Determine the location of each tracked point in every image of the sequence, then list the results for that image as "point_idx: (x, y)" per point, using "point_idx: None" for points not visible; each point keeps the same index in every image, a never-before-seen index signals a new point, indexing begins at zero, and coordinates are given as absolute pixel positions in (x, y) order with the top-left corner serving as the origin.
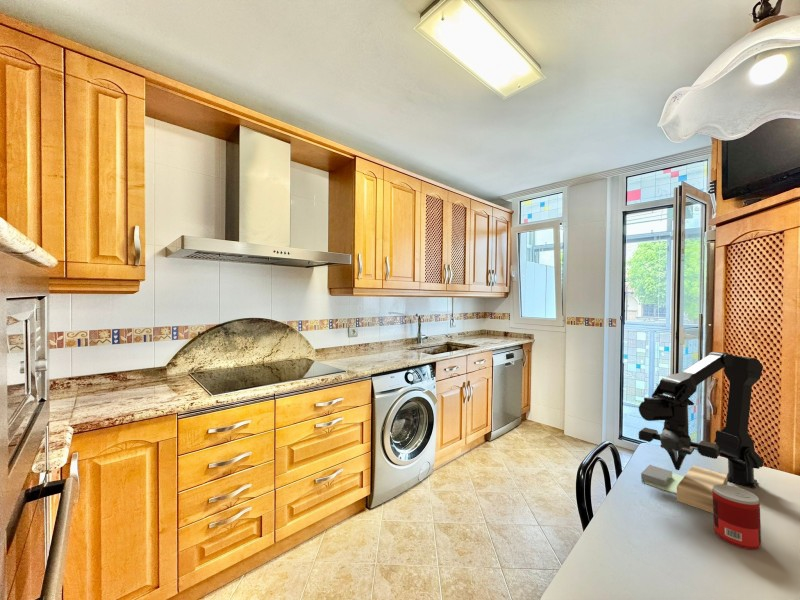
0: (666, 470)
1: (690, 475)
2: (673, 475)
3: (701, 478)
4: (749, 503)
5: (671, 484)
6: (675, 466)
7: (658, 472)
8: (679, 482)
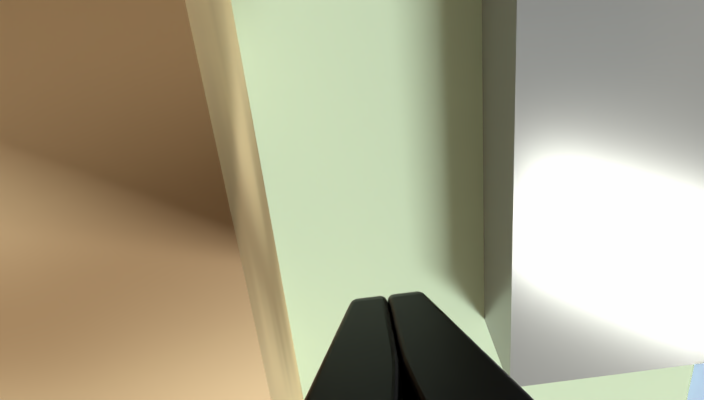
0: (581, 353)
1: (185, 357)
2: None
3: (15, 390)
4: None
5: (432, 88)
6: (431, 335)
7: (677, 174)
8: (374, 256)
